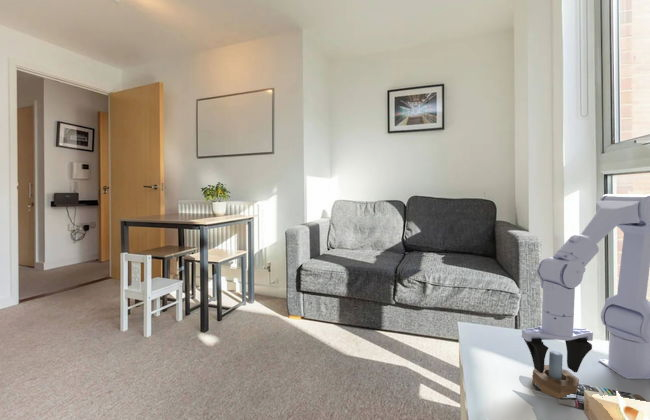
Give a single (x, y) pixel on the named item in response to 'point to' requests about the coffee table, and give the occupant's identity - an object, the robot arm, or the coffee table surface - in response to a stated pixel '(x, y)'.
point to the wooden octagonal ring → (556, 383)
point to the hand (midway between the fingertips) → (555, 370)
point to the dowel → (555, 365)
